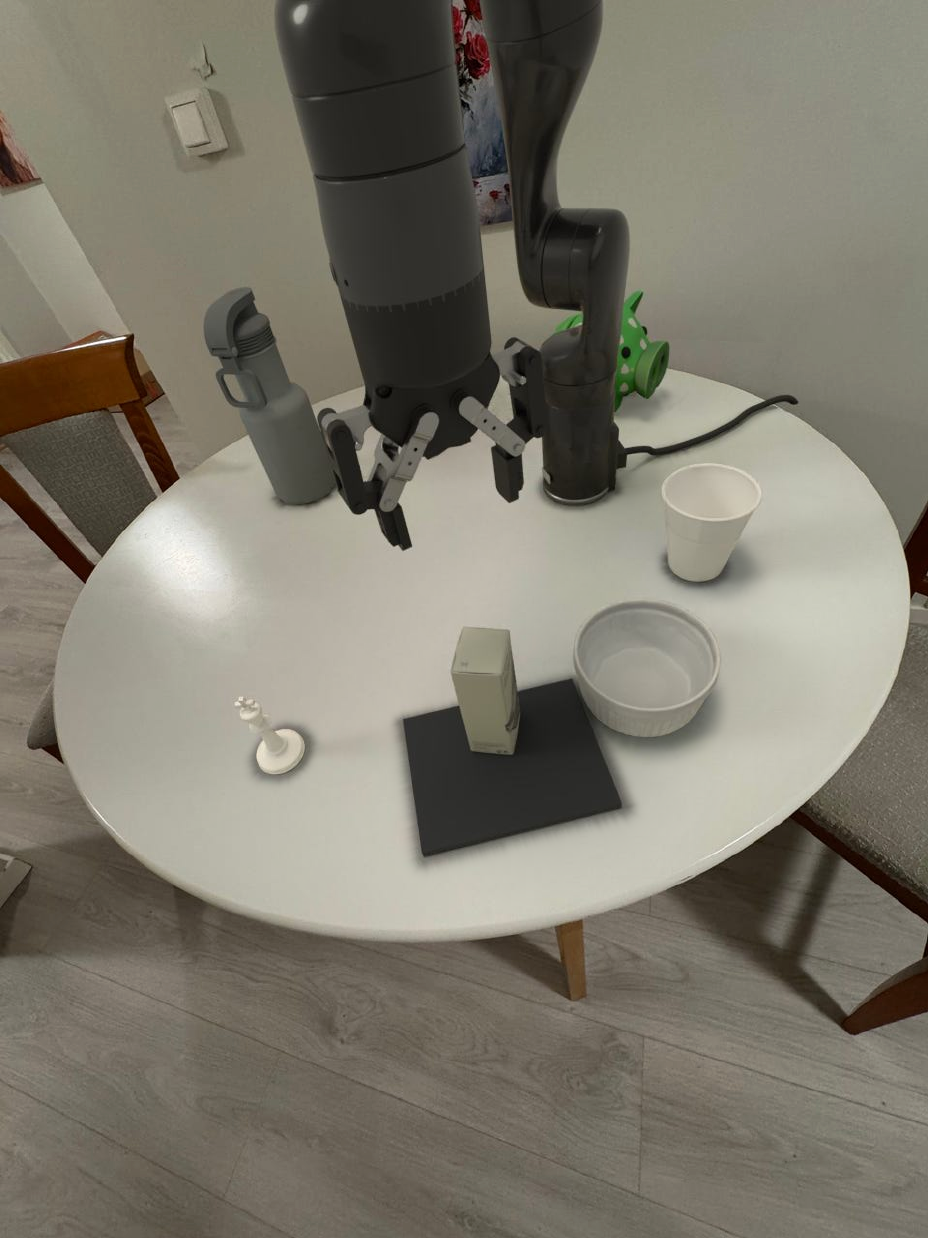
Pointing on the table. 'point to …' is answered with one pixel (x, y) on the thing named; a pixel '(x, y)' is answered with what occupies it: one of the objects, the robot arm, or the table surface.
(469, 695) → the box
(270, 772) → the chess piece
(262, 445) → the water bottle
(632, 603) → the ramekin
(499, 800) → the mat
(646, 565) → the table surface
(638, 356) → the piggy bank
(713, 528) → the cup
